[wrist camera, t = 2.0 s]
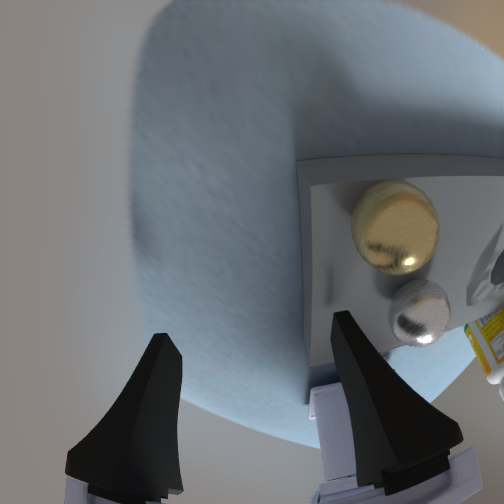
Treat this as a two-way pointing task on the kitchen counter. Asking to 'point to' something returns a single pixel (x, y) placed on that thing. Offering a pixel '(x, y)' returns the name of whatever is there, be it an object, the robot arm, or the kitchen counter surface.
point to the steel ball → (419, 313)
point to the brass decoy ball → (395, 227)
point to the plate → (385, 286)
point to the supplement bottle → (489, 345)
